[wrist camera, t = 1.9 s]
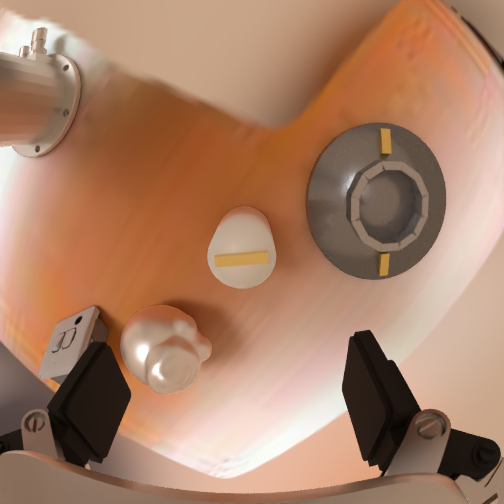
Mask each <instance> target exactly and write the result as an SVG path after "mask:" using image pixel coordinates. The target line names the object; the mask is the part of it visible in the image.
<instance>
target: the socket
mask: <svg viewBox="0 0 504 504" xmlns="http://www.w3.org/2000/svg"><path fill="white" fill-rule="evenodd" d="M445 209H446V188H445V182H444V178H443V174H442V171H441V168H440V166H439V163H438V161H437V159H436V157H435V156H434V154H433V153H432V151H431V150H430V149H429V147H428V146H427V145H426V144H425V143H424V142H423V141H422V140H421V139H420V138H419V137H418V136H416V135H415V134H413V133H412V132H410V131H408V130H406V129H404V128H402V127H400V126H396V125H393V124H387V123H370V124H364V125H360V126H357V127H354V128H351V129H349V130H347V131H345V132H343V133H342V134H340V135H339V136H337V137H336V138H335V139H333V140H332V141H331V142H330V143H329V144H328V145H327V146H326V148H325V149H324V150H323V151H322V153H321V154H320V155H319V157H318V159H317V161H316V162H315V164H314V167H313V169H312V171H311V174H310V177H309V181H308V185H307V192H306V212H307V219H308V223H309V227H310V230H311V233H312V235H313V238H314V239H315V241H316V243H317V245H318V247H319V248H320V249H321V251H322V252H323V254H324V255H325V256H326V258H327V259H328V260H329V261H330V262H331V263H332V264H334V265H335V266H336V267H337V268H339V269H340V270H342V271H344V272H345V273H347V274H349V275H352V276H355V277H358V278H362V279H371V280H376V279H385V278H390V277H393V276H396V275H399V274H401V273H403V272H405V271H407V270H408V269H410V268H411V267H413V266H414V265H415V264H417V263H418V262H419V261H420V260H421V259H422V258H423V257H424V256H425V255H426V254H427V252H428V251H429V250H430V248H431V247H432V245H433V244H434V242H435V240H436V239H437V237H438V234H439V232H440V230H441V227H442V224H443V220H444V215H445Z"/></svg>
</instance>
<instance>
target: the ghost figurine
mask: <svg viewBox="0 0 504 504" xmlns="http://www.w3.org/2000/svg"><path fill="white" fill-rule="evenodd" d="M120 350H121V355H122V359H123V361H124V364H125V365H126V367H127V369H128V370H129V372H130V373H131V374H132V375H133V376H134V377H135V378H136V379H137V380H139V381H140V382H142V383H143V384H145V385H148V386H149V387H150V388H151V389H152V390H153V391H154V392H156V393H158V394H172V393H177V392H180V391H182V390H185V389H186V388H188V387H189V386H191V385H192V384H193V383H194V381H195V380H196V378H197V376H198V374H199V370H200V367H201V365H202V362H203V361H205V360H207V359H208V358H209V357H210V355H211V352H212V345H211V342H210V341H209V339H207V338H206V337H204V336H203V335H202V334H201V333H200V332H199V331H198V329H197V325H196V322H195V321H194V319H193V318H192V317H191V316H189V315H187V314H185V313H184V312H183V311H181V310H180V309H178V308H175V307H172V306H168V305H152V306H148V307H145V308H143V309H141V310H139V311H138V312H136V313H135V314H134V315H133V316H132V317H131V318H130V319H129V320H128V321H127V323H126V324H125V326H124V328H123V331H122V334H121V339H120Z"/></svg>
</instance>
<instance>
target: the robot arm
mask: <svg viewBox="0 0 504 504" xmlns="http://www.w3.org/2000/svg"><path fill="white" fill-rule="evenodd" d="M46 36H47V29H46V28H38V29H36V30H34V32H33V35H32V41H31V51H30V52H29V48H30V47H29V46H24V47H21V48H20V52H19V56H16V55H12V54H7V53H3V52H0V147H6V146H12V147H13V149H14V150H15V151H16V152H17V153H18V154H19V155H22V156H24V157H38V156H41V155H44V154H46V153H48V152H49V151H51V150H52V149H53V148H54V147H55V146H57V145H58V144H59V142H60V141H61V140H62V139H63V137H64V136H65V134H66V133H67V131H68V130H69V128H70V126H71V124H72V122H73V119H74V117H75V114H76V111H77V108H78V104H79V99H80V91H81V82H80V75H79V71H78V68H77V67H76V65H75V63H74V62H73V61H72V60H71V59H70V58H68V57H66V56H64V55H60V54H49V55H46V54H47V50H46V49H45V48H44V45H45V42H46ZM342 392H343V396H344V399H345V402H346V405H347V409H348V412H349V415H350V418H351V422H352V425H353V428H354V431H355V435H356V438H357V442H358V445H359V448H360V451H361V455H362V458H363V460H364V461H367V460H368V463H369V467H370V466H374V465H378V466H379V470H381V471H382V472H381V474H380V476H379V477H378V478H373V479H368V480H363V481H357V482H353V483H347V484H342V485H336V486H331V487H324V488H317V489H309V490H300V491H290V492H277V493H253V494H235V493H234V494H233V493H211V492H198V491H188V490H179V489H172V488H165V487H158V486H153V485H148V484H143V483H138V482H133V481H128V480H125V479H121V478H117V477H113V476H109V475H106V474H102V473H99V472H96V471H93V470H90V467H89V465H88V460H89V459H90V460H91V461H94V462H98V463H102V461H103V458H105V457H107V455H108V453H109V450H110V447H111V445H112V442H113V440H114V437H115V435H116V432H117V430H118V427H119V425H120V422H121V420H122V418H123V415H124V413H125V410H126V408H127V406H128V403H129V401H130V398H131V391H130V389H129V387H128V385H127V383H126V381H125V379H124V376H123V374H122V372H121V370H120V368H119V365H118V363H117V361H116V359H115V356H114V354H113V352H112V349H111V347H110V346H108V345H107V343H106V342H99V341H92V342H91V343H90V345H89V346H88V347H87V349H86V350H85V351H84V353H83V354H82V356H81V357H80V358H79V360H78V361H77V363H76V364H75V366H74V367H73V368H72V370H71V371H70V373H69V374H68V376H67V377H66V379H65V380H64V382H63V383H62V385H61V386H60V387H59V389H58V391H57V392H56V394H55V395H54V397H53V398H52V400H51V401H50V403H49V404H48V406H47V408H48V410H49V412H48V414H47V413H46V412H45V411H44V410H41V409H35V410H32V411H30V412H28V413H27V414H26V415H25V416H24V418H23V420H22V423H21V429H19V430H16V431H14V432H11V433H8V434H5V435H3V436H0V504H469V503H470V504H504V457H502V456H501V452H500V448H499V446H498V445H497V444H496V443H495V442H494V441H493V440H490V439H487V438H483V437H480V436H476V435H472V434H468V433H465V432H462V431H459V430H455V429H452V428H451V423H450V420H449V418H448V417H447V415H445V414H444V413H443V412H441V411H439V410H436V409H426V410H423V411H421V409H420V407H419V405H418V404H417V401H416V400H415V398H414V396H413V394H412V392H411V390H410V389H409V387H408V385H407V383H406V381H405V380H404V378H403V376H402V374H401V372H400V371H399V369H398V367H397V365H396V364H395V362H394V361H393V360H387V358H386V356H385V354H384V353H383V351H382V349H381V347H380V346H379V344H378V342H377V340H376V339H375V337H374V335H373V334H372V332H371V331H370V330H365V331H359V332H355V334H354V336H351V337H350V339H349V346H348V353H347V359H346V366H345V372H344V378H343V383H342ZM466 498H467V499H468V501H467V499H466Z"/></svg>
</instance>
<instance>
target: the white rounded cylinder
mask: <svg viewBox="0 0 504 504" xmlns="http://www.w3.org/2000/svg"><path fill="white" fill-rule="evenodd" d="M207 259H208V264H209V267H210V269H211V271H212V273H213V274H214V276H215V277H216V278H217V279H218V280H219V281H221V282H222V283H224V284H225V285H227V286H230V287H233V288H240V289H245V288H251V287H254V286H257V285H259V284H261V283H262V282H264V281H265V280H266V279H267V278H268V277H269V276H270V274H271V273H272V271H273V269H274V267H275V263H276V250H275V246H274V241H273V237H272V233H271V228H270V224H269V222H268V219H267V218H266V216H265V215H264V214H263V213H262V212H261V211H259V210H258V209H256V208H253V207H249V206H240V207H236V208H233V209H231V210H230V211H228V212H227V213H226V214H225V215H224V216H223V218H222V219H221V221H220V223H219V225H218V227H217V230H216V232H215V234H214V236H213V238H212V240H211V242H210V245H209V247H208V252H207Z"/></svg>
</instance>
